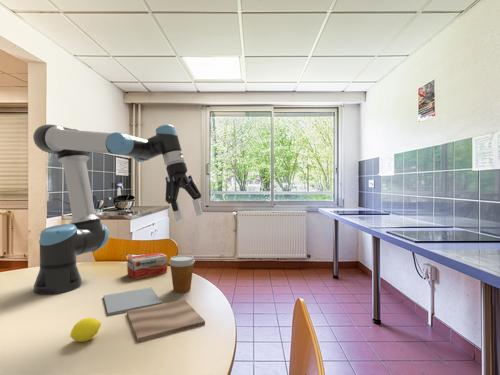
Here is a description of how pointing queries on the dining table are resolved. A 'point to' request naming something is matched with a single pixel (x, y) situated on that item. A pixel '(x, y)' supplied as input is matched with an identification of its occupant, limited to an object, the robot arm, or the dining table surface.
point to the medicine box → (147, 265)
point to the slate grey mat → (130, 300)
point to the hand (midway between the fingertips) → (190, 217)
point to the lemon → (85, 329)
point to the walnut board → (163, 319)
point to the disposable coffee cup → (181, 272)
